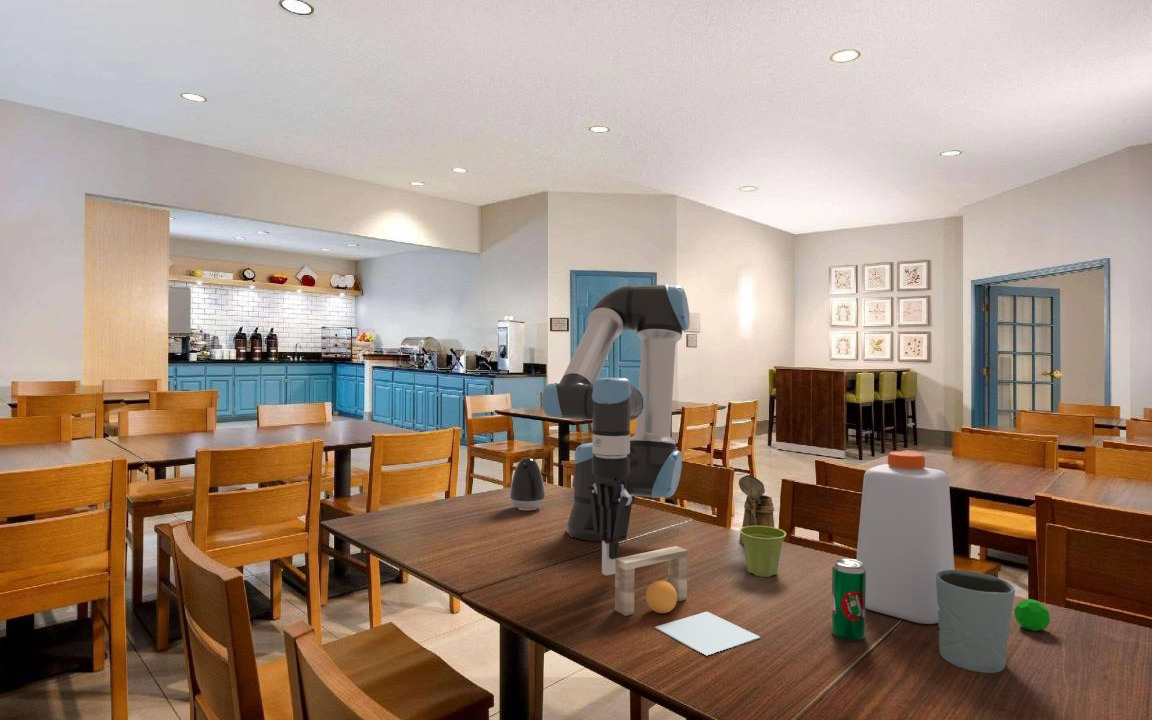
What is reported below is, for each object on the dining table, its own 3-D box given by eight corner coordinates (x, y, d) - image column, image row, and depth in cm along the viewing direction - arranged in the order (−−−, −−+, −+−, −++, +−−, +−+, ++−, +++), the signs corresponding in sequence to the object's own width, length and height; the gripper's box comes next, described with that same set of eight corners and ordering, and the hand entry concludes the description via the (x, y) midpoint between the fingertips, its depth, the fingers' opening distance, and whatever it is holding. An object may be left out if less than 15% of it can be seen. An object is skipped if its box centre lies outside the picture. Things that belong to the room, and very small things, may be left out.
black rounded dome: (505, 512, 183) (505, 459, 183) (514, 504, 193) (515, 454, 193) (540, 514, 181) (540, 460, 181) (548, 506, 191) (548, 455, 191)
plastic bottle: (962, 606, 117) (964, 454, 117) (937, 631, 107) (939, 463, 106) (876, 585, 128) (878, 445, 128) (845, 605, 117) (847, 453, 117)
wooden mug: (728, 549, 151) (729, 472, 151) (745, 535, 162) (746, 464, 162) (766, 555, 146) (767, 477, 146) (781, 541, 158) (782, 468, 157)
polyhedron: (1034, 636, 105) (1034, 608, 105) (1006, 624, 110) (1007, 596, 110) (1057, 633, 106) (1058, 605, 106) (1029, 621, 111) (1029, 594, 111)
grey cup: (919, 650, 100) (921, 573, 100) (963, 639, 104) (965, 565, 104) (983, 681, 91) (985, 596, 90) (1029, 668, 95) (1030, 587, 94)
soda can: (836, 626, 108) (838, 555, 108) (868, 634, 105) (869, 562, 105) (827, 636, 104) (828, 563, 104) (859, 645, 101) (860, 570, 101)
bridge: (614, 610, 114) (615, 558, 114) (675, 593, 122) (676, 545, 122) (625, 615, 112) (625, 563, 112) (686, 599, 120) (687, 550, 120)
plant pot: (788, 582, 129) (788, 539, 129) (740, 578, 131) (740, 536, 131) (782, 567, 138) (783, 527, 138) (737, 563, 140) (738, 524, 140)
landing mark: (654, 627, 107) (654, 626, 107) (706, 612, 114) (706, 611, 114) (706, 656, 97) (706, 655, 97) (760, 638, 103) (760, 636, 103)
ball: (635, 596, 115) (647, 577, 112) (659, 589, 118) (671, 571, 115) (651, 623, 112) (663, 604, 109) (675, 615, 115) (688, 597, 112)
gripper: (577, 452, 131) (575, 567, 131) (615, 461, 120) (614, 587, 120) (606, 449, 135) (605, 561, 135) (646, 458, 124) (645, 579, 124)
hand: (609, 573), depth 128 cm, fingers closed
